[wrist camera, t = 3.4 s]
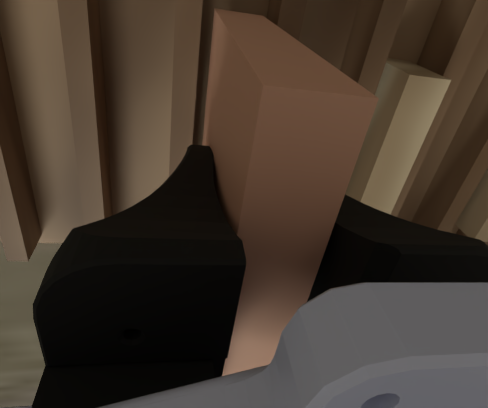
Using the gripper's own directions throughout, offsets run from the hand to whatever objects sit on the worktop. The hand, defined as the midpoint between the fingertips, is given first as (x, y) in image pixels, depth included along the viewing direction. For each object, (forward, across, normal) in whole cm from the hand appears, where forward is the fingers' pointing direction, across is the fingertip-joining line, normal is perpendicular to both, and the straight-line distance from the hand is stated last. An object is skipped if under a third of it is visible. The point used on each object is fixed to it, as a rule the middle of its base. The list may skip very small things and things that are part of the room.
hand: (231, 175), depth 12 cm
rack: (+5, -3, 0) cm, 6 cm away
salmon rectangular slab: (+3, 0, 0) cm, 3 cm away
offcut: (+4, -6, 0) cm, 8 cm away
